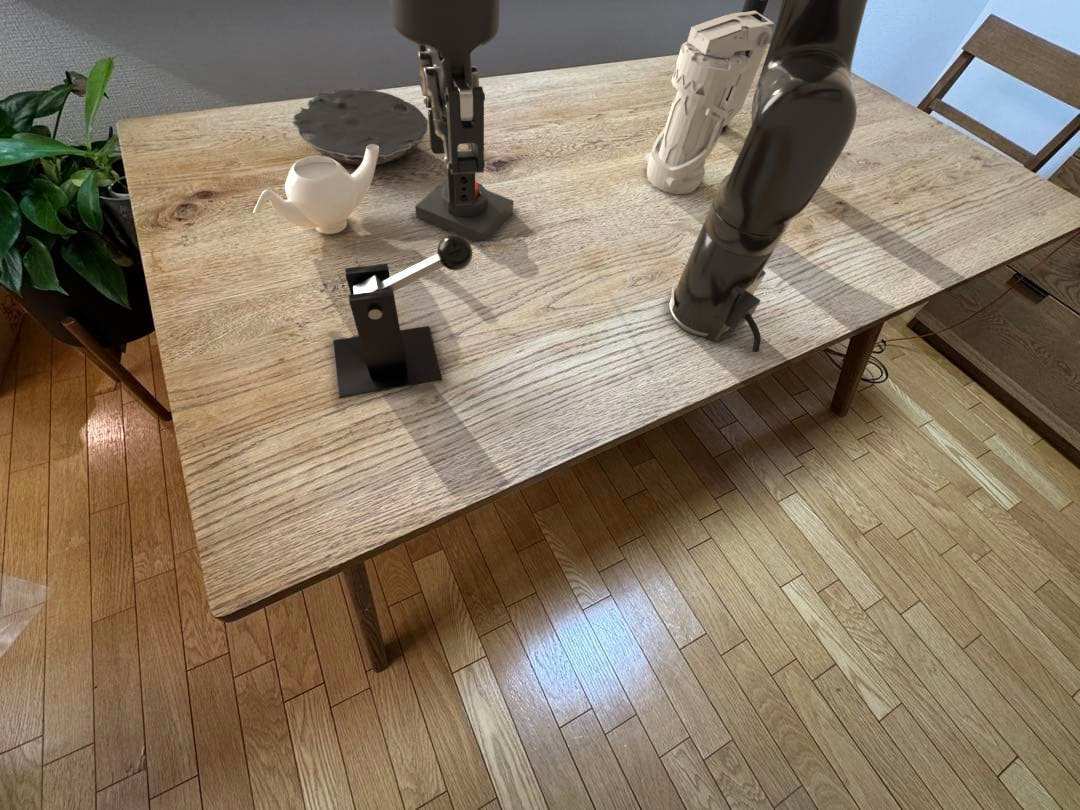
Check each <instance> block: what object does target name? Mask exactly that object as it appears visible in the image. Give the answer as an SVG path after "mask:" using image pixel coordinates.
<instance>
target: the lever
mask: <svg viewBox="0 0 1080 810" xmlns="http://www.w3.org/2000/svg"><path fill="white" fill-rule="evenodd" d="M436 251H437V252H436V253H435V254H433V255H432V256H430V257H428V258H426V259H424V260H421V261H420V262H418V263H415V264H414V265H412V266H410V267H408V268H405V269H404V270H401V271H400V272H398V273H396V274H394V275H392V276H390V278H388V279H386V280H384V281H382V282H381V281H380V280H379V279H378V277H377V276H376V275H374V276H372V277H370V278H368V279H366V280H364V281H362V282H360V283H358V284H356V285H354V286H353V291H354V294H359V293H367V292H374V291H382V290H390V289H393V293H394V292H396V291H398V290H400V289H403V288H404V287H405V286H408V285H410V284H411V283H414V282H416V281H418V280H420V279H422V278H425V276H428V275H430V274H432V273H433V272H435V271H438V270H439V269H442V268H446V269H448V270H450V271H454V272H455V271H462V270H465V269H466V268H467V267H468V266H469V265H470V263H471V261H472V259H473V248H472V245H471V243H470V242H469V241H468V239H466V238H464V237H462V236H460V235H457V234H449V235H446V236H444V237H443V238H442V239H441V240H440V242H439V243H438V246H437V249H436Z"/></svg>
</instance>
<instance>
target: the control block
mask: <svg viewBox="0 0 1080 810" xmlns="http://www.w3.org/2000/svg"><path fill="white" fill-rule="evenodd" d="M477 184H478V198H477V199H476V200H475V204H474V206H472V207H469V208H458V209H453V208H451V207H450V204H449V201H448V188H447V178H445V179H444V180H443V181H442V182H441V183H439V184H438V185H437V186H436V187H435V188H434V189H433V190H432V191H430V192H429V193H428V194H427V195H426V196H425V197H423V198H422V200H420V201H418V202H417V204H416V205H414V207H415V216H416V219H418V220H420V221H423V222H426V223H428V224H431V225H433V226H435V227H437V228H440V229H442V230H445V231H446V232H449V233H452V234H453V235H460V236H462V237H464V238H465V239H466V240H469V241H471V242H474V243H483V242H484V243H485V242H488V240H489V239H490V238H491V237H492V236H493V235H494V233H496V231H497V230H498V229H499V228H500V227H501V226H502V225H503V224H504V223H505V221H506V220H507V219H508V218H509V217H510V216H511V215H512V214H513V213H514V202H515V201H514V200H513V199H510V198H508V197H505V196H503V195H500V194H497V193H495V192H492V191H491V190H488V189H487V188H485V186H484V185H483V184H481V183H479V182H477Z"/></svg>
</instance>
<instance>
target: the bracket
mask: <svg viewBox="0 0 1080 810" xmlns="http://www.w3.org/2000/svg"><path fill="white" fill-rule="evenodd" d="M344 275H345V278H346V282H347V286H348V290H349V293H350V294H348V296H347V297H348V302H349V305H350V310H351V313H352V318H353V322H354V323H355V328H356V332H357V335H358V336H353V337H346V338H338V339H333V340H332V348H333V357H334V358H333V359H334V366H335V375H336V382H337V392H338V394H337V395H338V398H339V399H340V398H346V397H351V396H352V397H353V396H357V395H364V394H369V393H375V392H381V391H386V390H387V391H388V390H392V389H399V388H404V387H409V386H415V385H421V384H427V383H431V382H437V381H442V380H443V378H442V374H441V370H440V366H439V362H438V358H437V354H436V350H435V345H434V342H433V338H432V337H433V336H432V333H431V330H430V326H429V325H426V326H420V327H419V326H418V327H413V328H405V329H401V327H400V321H399V315H398V310H397V305H396V298H395V293H394V292H393V289H390V290H382V291H374V292H367V293H359V294H354V291H353V286H354V285H356V284H358V283H360V282H362V281H364V280H366V279H368V278H370V277H372V276H374V275H376V276H377V277H378V279H379V280H380V281H381V282H382V281H384V280H386V279H388V278H390V277H391V274H390V270H389V265H388V263H379V264H369V265H362V266H353V267H352V266H351V267H345V268H344Z"/></svg>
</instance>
